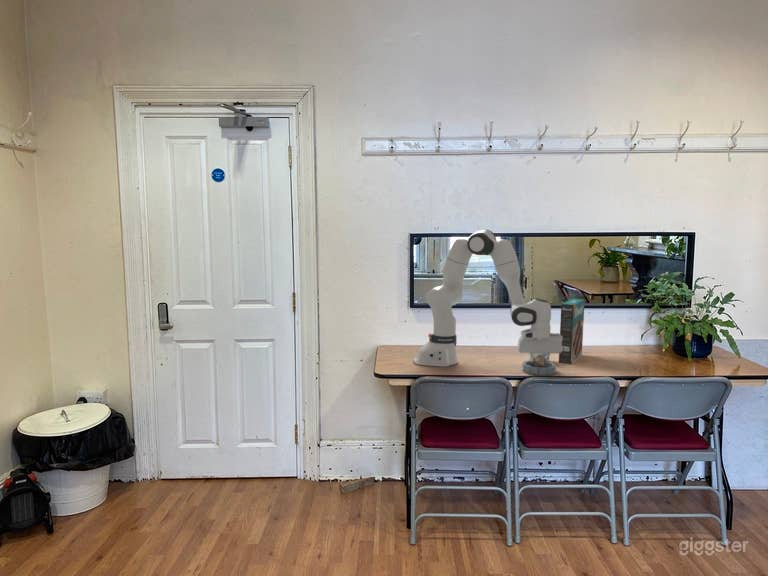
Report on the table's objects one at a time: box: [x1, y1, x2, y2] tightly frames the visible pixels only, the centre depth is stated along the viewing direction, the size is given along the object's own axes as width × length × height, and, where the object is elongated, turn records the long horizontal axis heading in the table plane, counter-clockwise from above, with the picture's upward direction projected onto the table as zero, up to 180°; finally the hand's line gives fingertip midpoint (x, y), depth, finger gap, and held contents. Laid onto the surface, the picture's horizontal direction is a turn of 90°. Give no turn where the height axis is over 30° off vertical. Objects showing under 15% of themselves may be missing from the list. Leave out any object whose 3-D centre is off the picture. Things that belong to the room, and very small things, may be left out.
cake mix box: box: [558, 298, 586, 365], centre depth 275 cm, size 22×6×30 cm, turn 146°
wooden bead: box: [534, 355, 544, 367], centre depth 252 cm, size 4×4×5 cm
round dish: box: [521, 359, 557, 377], centre depth 253 cm, size 15×15×4 cm
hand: (539, 361), depth 252 cm, fingers closed on wooden bead, 4 cm apart
